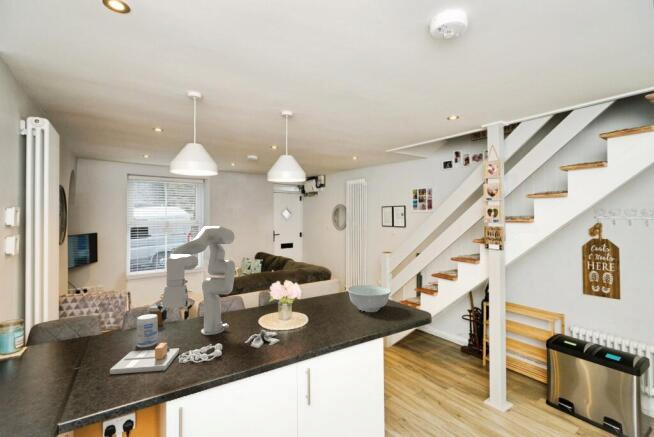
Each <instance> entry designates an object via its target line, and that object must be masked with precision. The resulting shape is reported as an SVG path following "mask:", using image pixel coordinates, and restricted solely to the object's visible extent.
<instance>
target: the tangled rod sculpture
mask: <svg viewBox="0 0 654 437" xmlns="http://www.w3.org/2000/svg"><path fill="white" fill-rule="evenodd" d="M213 348H214V351H213V352H211V353H210V354H207V352H208V350H211V349H213ZM222 350H223V344H221V343H216V344H215V345H212V343H210V344H209V345H207V346H203V347H201V348H200V349H197V348H196V349H194V350H189V351H186V352H183V353H182V354H180V355H179V356H178V362H179V363H181V364H182V363H183V364H186V363H187V362H190V361H191V362H193V363H196V364H198V363H201V362H204V361H205V362H208V361H212V360H214V359H215V358H218V357H220V356H222V354H223V352H222ZM187 354H188V355H187ZM212 356H213V357H212ZM209 357H212V358H209ZM199 359H201V360H199Z"/></svg>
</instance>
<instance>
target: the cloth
mask: <svg viewBox="0 0 654 437" xmlns="http://www.w3.org/2000/svg"><path fill="white" fill-rule="evenodd" d="M275 336H278V333H277V332H273V331H266V330H264V329H261V331H260V333H259V334H256V333H255V334H252V335H251V336H250V337H249V338H248V339H247V340H246V341H244V344H245V343H246V344H248V343H250V342H251V343H250V347H252V348H256V349H257V348H258V349H259V348H260V347H261V346H263V345H264V343H265V342H267V343H268V345H269V346H271V345H272V346H273V345H275V344H277V343H278V342H280V339H277V338H273V337H275Z"/></svg>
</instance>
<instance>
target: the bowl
mask: <svg viewBox="0 0 654 437" xmlns="http://www.w3.org/2000/svg"><path fill="white" fill-rule="evenodd" d="M346 291H347V292H348V295H349V299H350V302H351V303H352V304H353V305H354V306H355V307H357V309H358V310H359V311H360V310H361V312H363V311H365V312H364V313H376V312H378V310H379V311H380V309H381V308H383V307H384V306H385V305H387V303H388V301H389V297H390V295H391V293H392V290H391V289H390V288H388V287H386V286H380V285H372V284H371V285H370V284H367V285H365V284H360V285H352V286H349V287H347V289H346Z"/></svg>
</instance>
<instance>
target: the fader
mask: <svg viewBox="0 0 654 437" xmlns="http://www.w3.org/2000/svg"><path fill="white" fill-rule="evenodd" d="M167 347H168V342H159V344H158V345H157V346H156V347H155V348H154V350H155V359H162V358H163V357H164V356H165V355H166V354H167Z"/></svg>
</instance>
